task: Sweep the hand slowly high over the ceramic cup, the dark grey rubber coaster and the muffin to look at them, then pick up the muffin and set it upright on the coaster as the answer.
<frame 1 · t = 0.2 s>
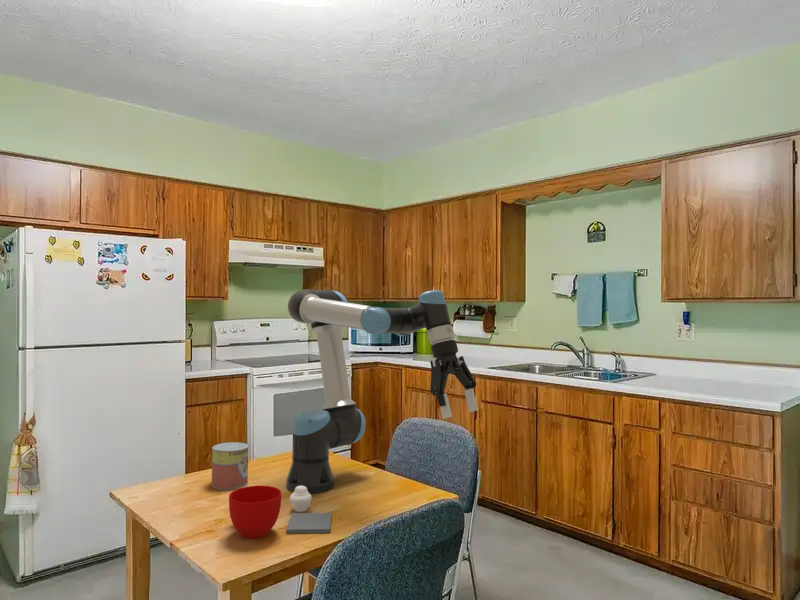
hand: (461, 414, 155), 28 cm above the table, tool tilted 20°, fingers open, 13 cm apart
coaster: (309, 524, 144), on the table
ceramic cup: (250, 531, 140), on the table
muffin: (300, 510, 154), on the table
canned food: (229, 484, 176), on the table
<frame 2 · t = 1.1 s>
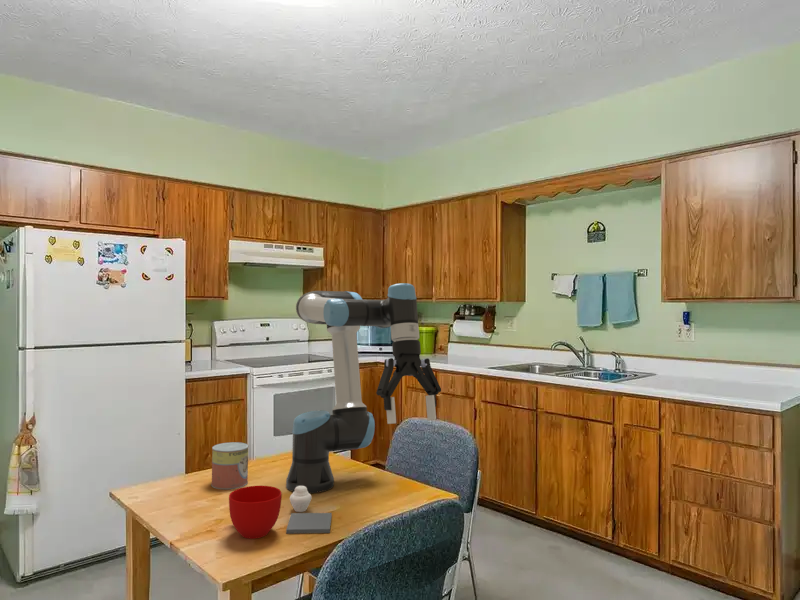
hand: (412, 421, 142), 28 cm above the table, tool pointing down, fingers open, 13 cm apart
nothing on the table moved.
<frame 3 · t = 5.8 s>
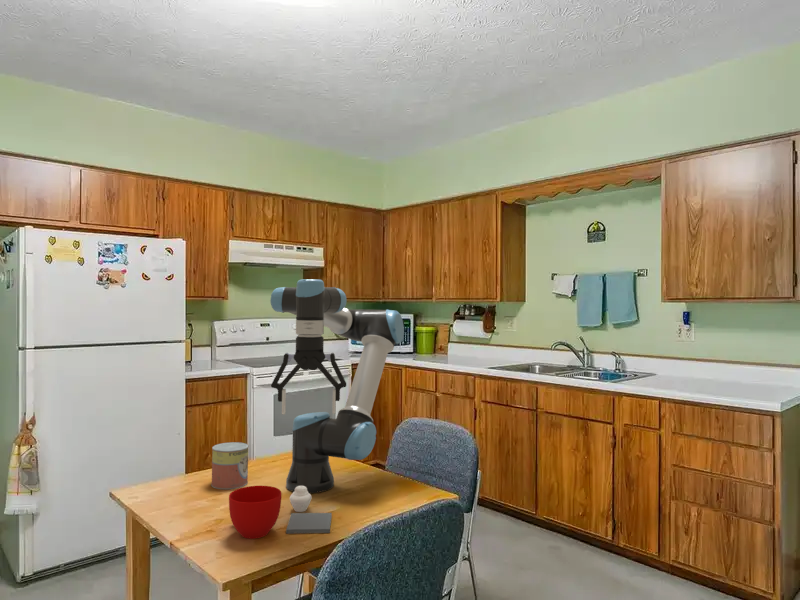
hand: (309, 413, 149), 28 cm above the table, tool pointing down, fingers open, 13 cm apart
nothing on the table moved.
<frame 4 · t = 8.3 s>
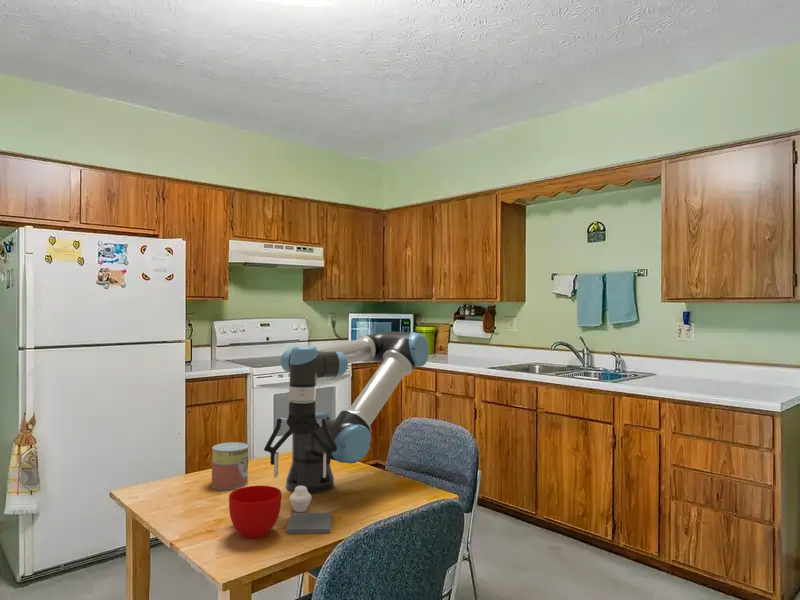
hand: (300, 476, 154), 10 cm above the table, tool pointing down, fingers open, 13 cm apart
nothing on the table moved.
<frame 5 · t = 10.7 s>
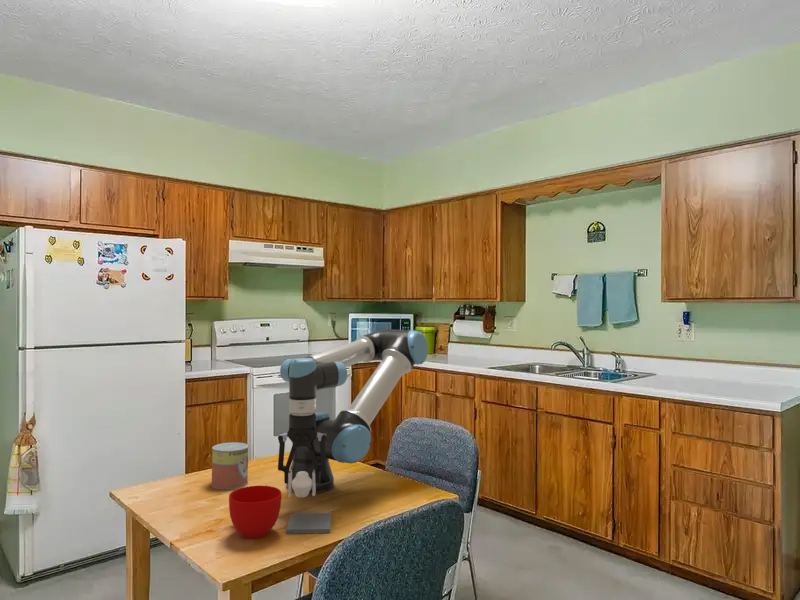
hand: (302, 494, 155), 4 cm above the table, tool pointing down, fingers closed on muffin, 6 cm apart
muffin: (302, 496, 155), point 4 cm above the table, touching gripper
everything else where it was.
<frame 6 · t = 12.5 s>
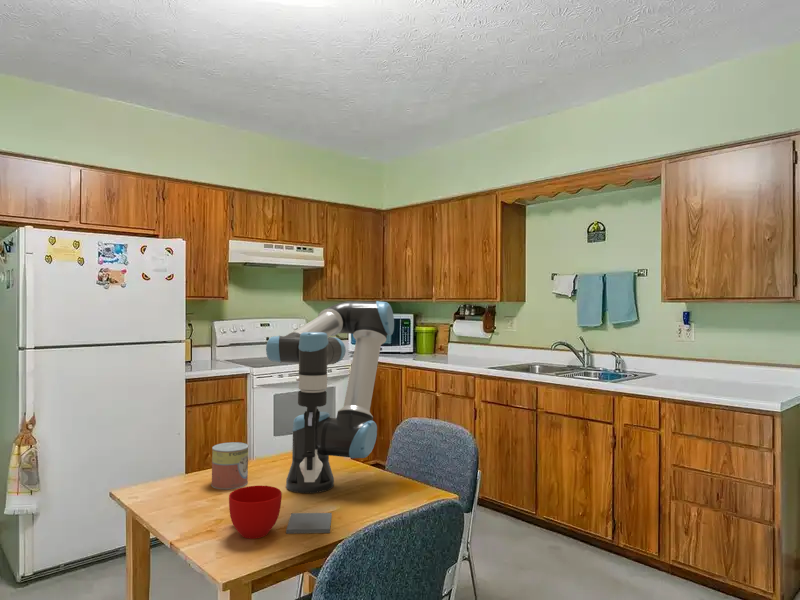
hand: (310, 477, 144), 12 cm above the table, tool pointing down, fingers closed on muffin, 6 cm apart
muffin: (310, 479, 144), point 12 cm above the table, touching gripper
everything else where it was.
when the fingers open (2 cm above the table, at t = 14.7 s): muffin stays where it is, resting on coaster.
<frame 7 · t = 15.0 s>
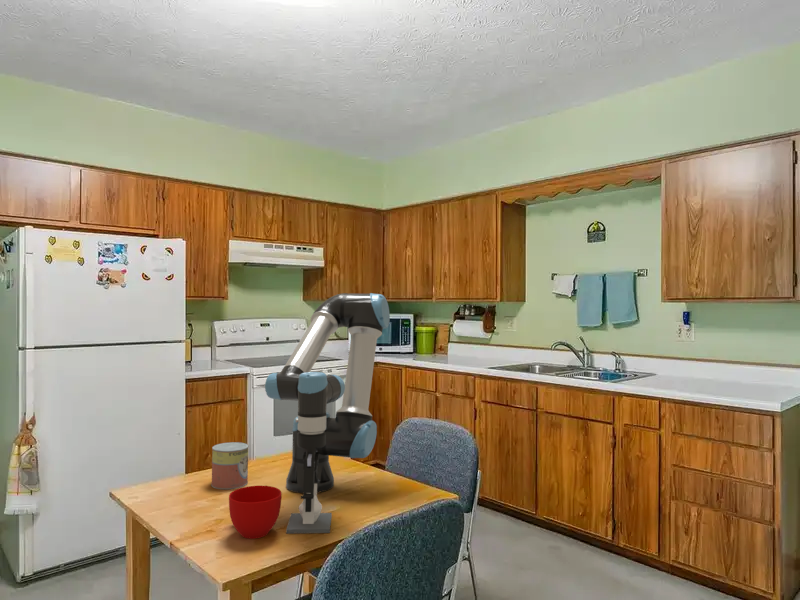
hand: (310, 515, 144), 2 cm above the table, tool pointing down, fingers open, 10 cm apart
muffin: (310, 521, 144), point 1 cm above the table, touching coaster
everything else where it was.
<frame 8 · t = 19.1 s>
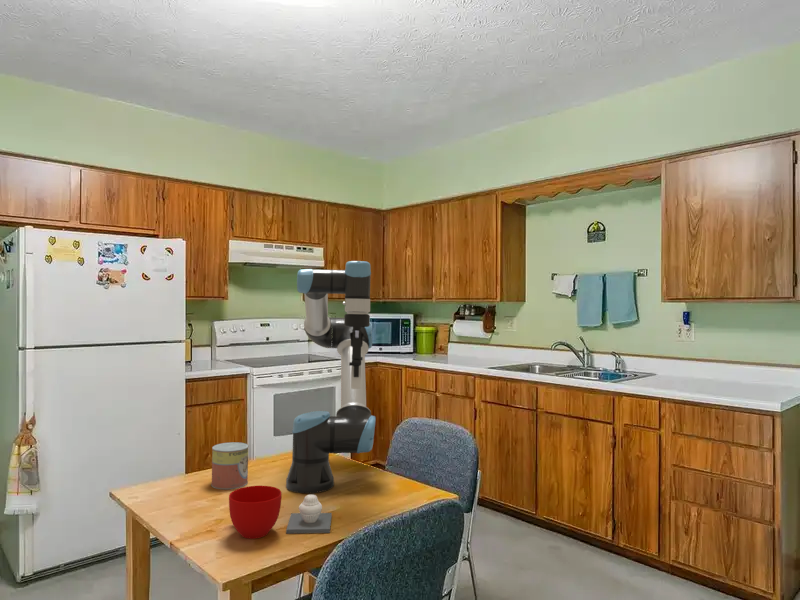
hand: (355, 385, 161), 35 cm above the table, tool pointing down, fingers open, 13 cm apart
nothing on the table moved.
at the end: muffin inside the target area on the coaster (0.1 cm from its centre), point 0.8 cm above the coaster's base; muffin tilted 0°; ceramic cup moved 0.2 cm from its start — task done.
